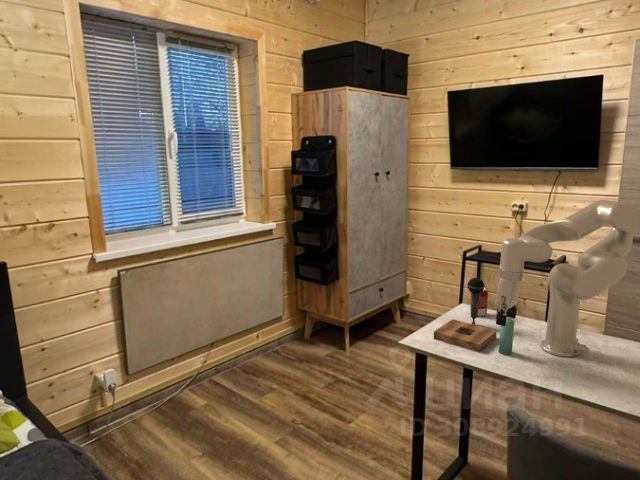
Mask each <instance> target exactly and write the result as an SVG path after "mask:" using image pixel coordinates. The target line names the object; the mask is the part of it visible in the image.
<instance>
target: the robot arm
mask: <svg viewBox="0 0 640 480" xmlns="http://www.w3.org/2000/svg"><path fill="white" fill-rule="evenodd" d="M603 227H607V228H610V230H609V233H608V234H607V235H606V236H605V237H604V238H603V239H601V240H600V241H598V242H596V243H595V244H594V245H592V246H591V247H589V248H587V249H586V250H584V251H582V253H580V255H579V256H578V257H577V261H576V263H577V265H578V266H575V265H573V264H570V263H565V262H564V263H557V264H556V265H554V266H553V267H552V268H551V270H550V272H549V275H548V284H549V301H548V302H549V304H548V310H547V311H548V313H547V323H546V333H545V339H543V340H542V341H541V342H540V344H539V346H540V349H542V350H543V351H545V352H547V353H549V354H551V355H554V356H558V357H565V358H567V357H568V358H569V357H577V356H578V355H579V354H580V352H582V353H585V354H589V352H590V347H588V345H586V344H585V343H580V342H579V338H577V333H578V325H579V316H580V309H581V302H580V301H581V300H582V301H585V300H590V299H593V298H595V297H597V296H598V295H601V293H602V292H604V291H606V290H607V289H609V288H610V287H612V286H614V285H615V284H616V283H618V282H619V281H620V280H622V279H623V278H624V276H625V275H626V273H627V270H628V263H627V261H626V259H625V258H624V257H625V256H626V255H627V254H628V253H629V252H630V251H631V249H632V246H633V242H634V241H633V239H634V235H638V236H640V207H637V206H634V205H630V204H628V203H623V202H618V201H613V200H608V199H607V200H606V199H599V200H596V201H594V202H592V203H590V204H588V205H586V206H585V207H583V208H580V209H579V210H577V211H575V212H574V213H571V214H570V215H568V216H566V217H564V218H561V219H558V220H555V221H551V222H548V223H544V224H541V225H538V226H535V227H533V228H532V229H530V230H528V231H526V232H525V233H523V234H522V235H520V236H519V237H518V238H511V237H510V238H505V239H503V241H502V243H501V252H500V263H499V271H498V272H499V273H498V279H499V282H498V284H497V290H496V295H495V302H494V305H495V306H496V317H495V318H496V319H495V325H497V326H500V327H501V326H506V319H512V320H513V319H516V317H517V307H518V303H519V298H520V289H521V288H520V286H521V282H522V281H523V276H524V267H525V262H532V263H544V262H547V261H549V260H550V259H551V257H552V255H553V251H554V250H553V248H552V245H550V244H551V243H555V242H556V243H557V242H574V241H579V240H581V239H583V238H585V237H587V236H589V235H590V234H592V233H593V232H595V231H597V230H599V229H601V228H603Z"/></svg>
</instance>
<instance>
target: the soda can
mask: <svg viewBox="0 0 640 480" xmlns="http://www.w3.org/2000/svg"><path fill="white" fill-rule="evenodd" d="M488 297H489V291H488V289H487V288H486V287H485V288H484V290H483V291H482V292H481V293H480V296H479V305H478V315H477V318H478V317H480V318H483V317H485V316H487V314H488ZM469 308H470V309H469V310H470V311H469V312H470V314H471V307H469Z"/></svg>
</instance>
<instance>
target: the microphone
mask: <svg viewBox="0 0 640 480" xmlns="http://www.w3.org/2000/svg"><path fill="white" fill-rule="evenodd" d="M466 286H467V290H468V291H469V292H470V296H471V297H470V308H471V313H470V318H471V319H472V322H471V324H473V325H476V322H475V321H476V320H475V319H477V318H478V317H477V315H478V305H479V296H480V293H481V292H482V291H483V290H484V288H486V285H485V282H484V280H483V279H481V278H480V277H473V278H471V279H469V281H468V282H467V285H466Z"/></svg>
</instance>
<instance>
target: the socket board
mask: <svg viewBox="0 0 640 480" xmlns="http://www.w3.org/2000/svg"><path fill="white" fill-rule="evenodd" d="M497 332H498V331H497V330H495V329H491V328H488V327H484V326H480V325H476V324H475V325H473V324H472V323H468V322H465V321H460V320H457V319H454V318H453V319H450V320H449V321H447V322H446V323H444V324H442V325H441V326H440V327H438V328H437V329H435V330H433V340H436V341H440V342H443V343H446V344H450V345H454V346H457V347H460V348H463V349H466V350H470V351H473V352H477V353H480V352H482V350H484V349H485V348H486V347H487V346H489V345H490V344H491V343H492V342H494V341H495V340H496V339H497V334H498V333H497Z"/></svg>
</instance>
